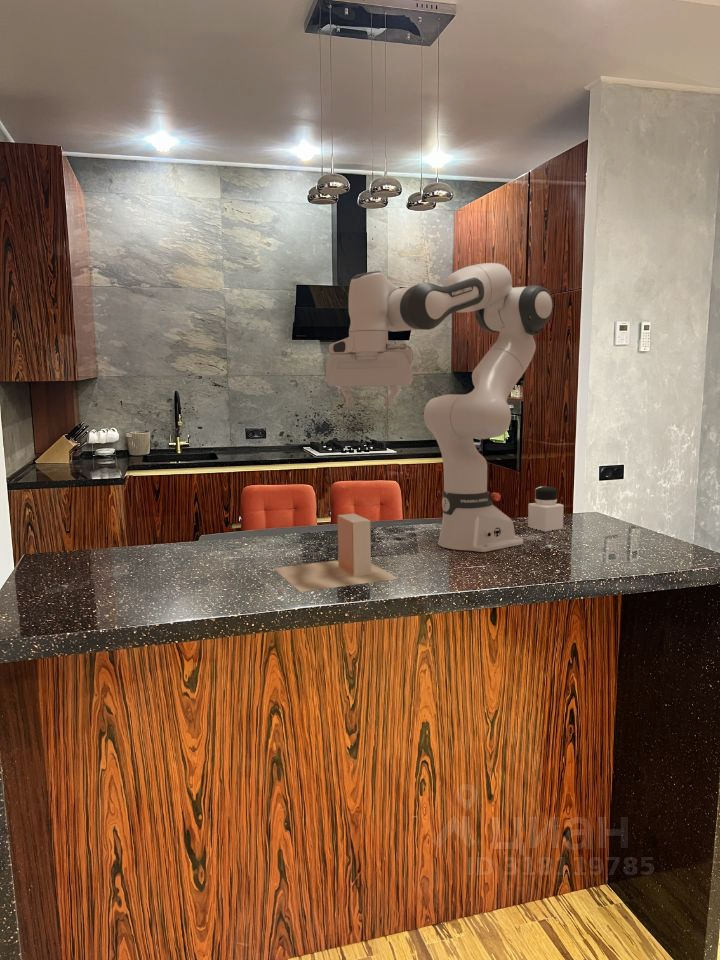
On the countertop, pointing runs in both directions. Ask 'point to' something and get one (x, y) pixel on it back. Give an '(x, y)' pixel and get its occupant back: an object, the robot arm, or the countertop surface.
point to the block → (354, 544)
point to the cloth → (328, 576)
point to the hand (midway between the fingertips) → (369, 406)
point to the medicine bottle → (545, 510)
